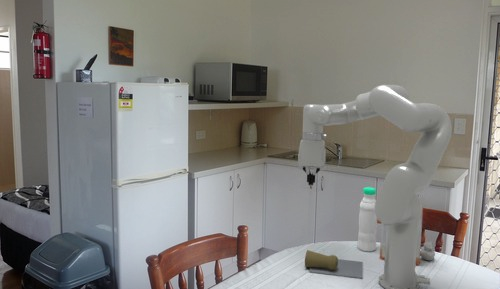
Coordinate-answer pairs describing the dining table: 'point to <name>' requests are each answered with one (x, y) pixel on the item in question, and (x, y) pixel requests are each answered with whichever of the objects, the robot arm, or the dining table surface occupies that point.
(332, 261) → the cork
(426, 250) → the rubber duck
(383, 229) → the cracker box
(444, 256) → the dining table surface
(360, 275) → the rubber mat
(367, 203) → the water bottle
